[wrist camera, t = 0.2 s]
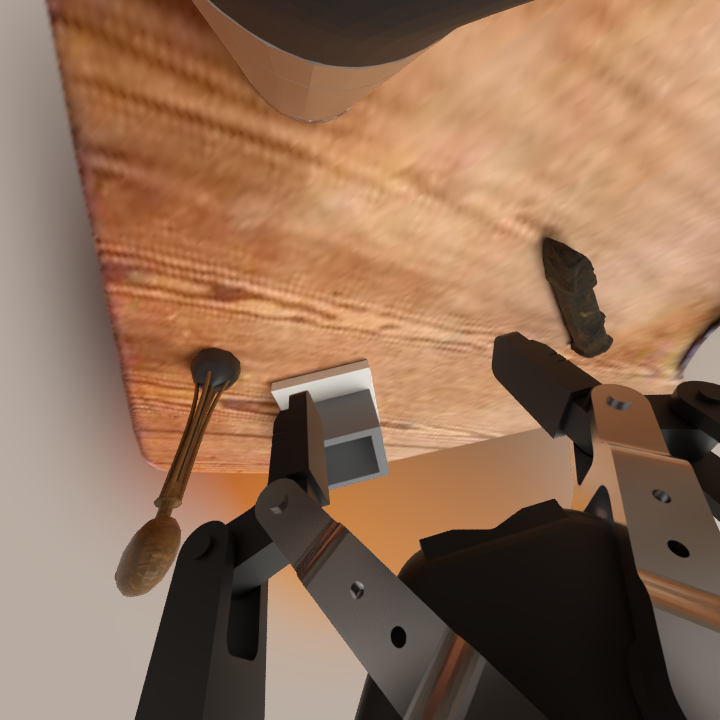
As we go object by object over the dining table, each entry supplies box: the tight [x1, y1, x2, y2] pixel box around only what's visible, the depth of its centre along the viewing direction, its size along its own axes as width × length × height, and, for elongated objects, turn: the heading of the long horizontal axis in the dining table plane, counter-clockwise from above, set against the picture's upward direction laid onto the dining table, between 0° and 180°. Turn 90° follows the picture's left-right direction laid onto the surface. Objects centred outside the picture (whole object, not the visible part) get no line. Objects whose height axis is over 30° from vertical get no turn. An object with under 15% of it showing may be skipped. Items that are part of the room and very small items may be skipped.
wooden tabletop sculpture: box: [115, 348, 240, 597], centre depth 23 cm, size 6×5×20 cm
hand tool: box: [543, 238, 613, 358], centre depth 31 cm, size 19×4×5 cm, turn 40°
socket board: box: [271, 360, 389, 490], centre depth 36 cm, size 18×12×8 cm, turn 9°
